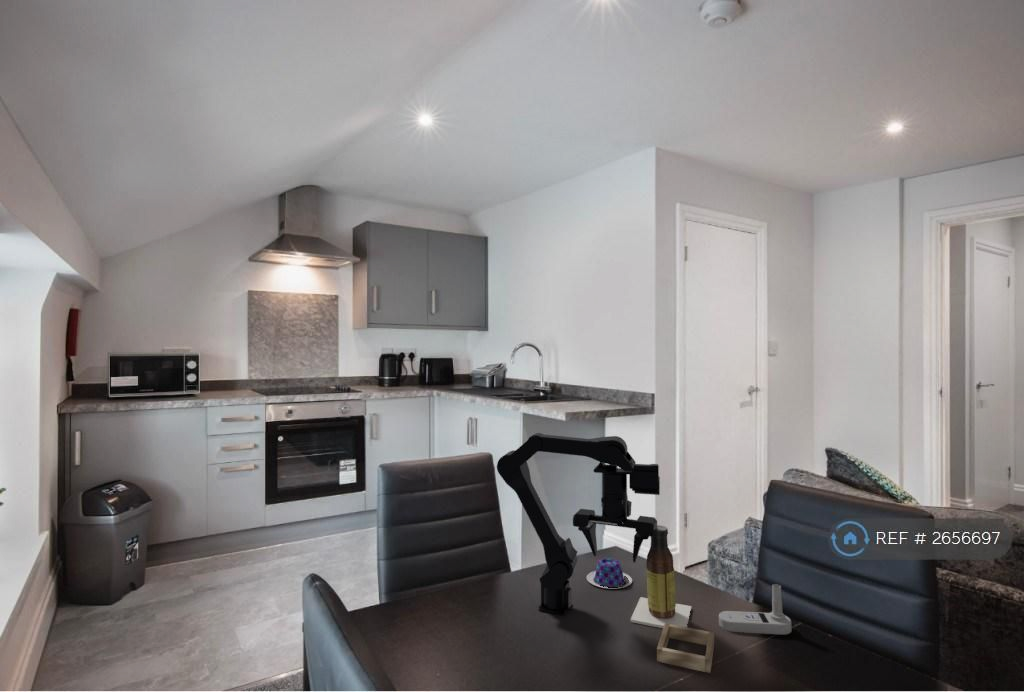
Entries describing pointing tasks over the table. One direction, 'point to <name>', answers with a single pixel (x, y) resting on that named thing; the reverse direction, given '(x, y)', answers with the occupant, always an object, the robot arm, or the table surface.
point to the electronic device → (758, 618)
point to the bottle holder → (683, 657)
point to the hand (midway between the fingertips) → (614, 558)
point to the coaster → (646, 618)
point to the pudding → (608, 574)
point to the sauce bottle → (660, 576)
